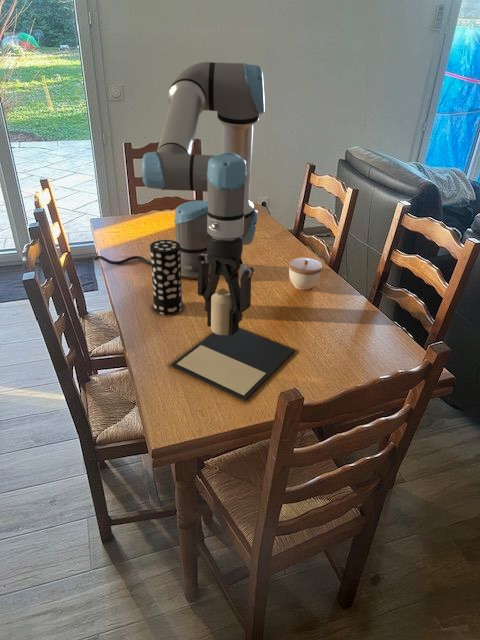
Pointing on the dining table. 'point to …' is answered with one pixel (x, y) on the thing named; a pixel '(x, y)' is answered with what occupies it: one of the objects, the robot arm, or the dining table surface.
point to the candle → (221, 312)
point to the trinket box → (304, 272)
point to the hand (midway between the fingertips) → (222, 327)
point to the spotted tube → (166, 276)
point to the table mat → (234, 361)
